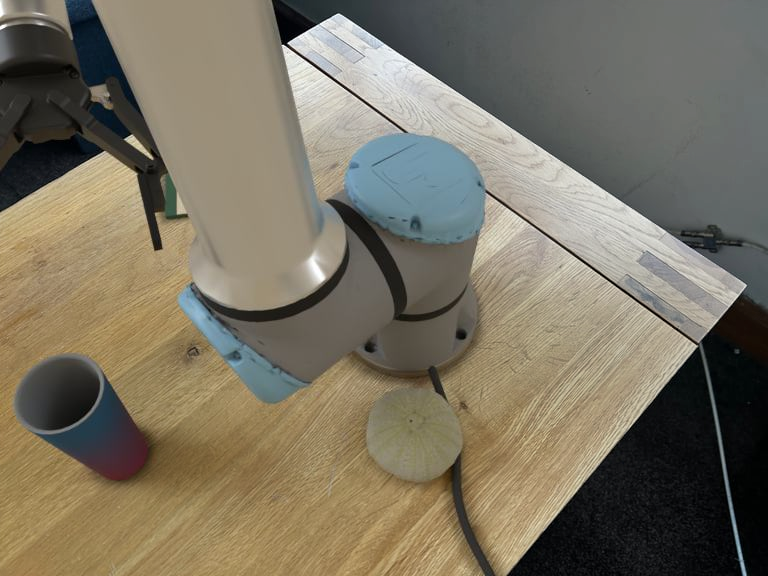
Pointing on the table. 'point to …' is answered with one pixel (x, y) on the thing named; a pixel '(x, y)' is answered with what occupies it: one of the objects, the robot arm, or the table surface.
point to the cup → (80, 415)
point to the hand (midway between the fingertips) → (77, 261)
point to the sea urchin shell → (413, 434)
